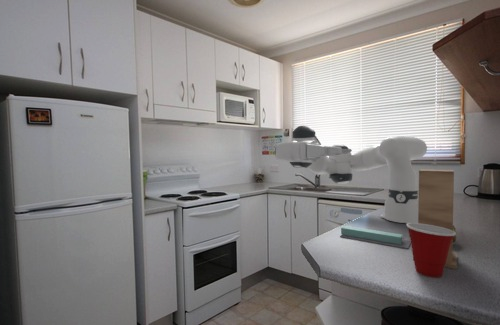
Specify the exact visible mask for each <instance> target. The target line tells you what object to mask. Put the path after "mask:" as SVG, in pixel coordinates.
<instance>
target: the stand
mask: <svg viewBox="0 0 500 325" xmlns="http://www.w3.org/2000/svg"><path fill="white" fill-rule="evenodd" d="M454 182H455V170H454V169H432V168H431V169H429V168H428V169H427V168H421V169H419V170H418V202H419V203H418V223H420V224H428V225H434V226H439V227H443V228H446V229H450V230H452V231H453V225H454V195H455V194H454V187H455V185H454V184H455V183H454ZM453 245H454V244H453V239H452V241H451V244H450V247H449V251H448V256H447V260H446V263H445V266H444V268H449V269H455V270H457V268H458V260H457V259H458V258H457V254H458V253H455V252H453V250H454V248H453ZM412 258H413V257H412ZM412 260H413V262H414V258H413V259H412Z"/></svg>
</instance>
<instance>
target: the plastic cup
mask: <svg viewBox="0 0 500 325" xmlns="http://www.w3.org/2000/svg"><path fill="white" fill-rule="evenodd" d="M405 224H406V228H407V229H408V234H409V239H410V240H409V241H411V244H410V246H411V251H412V258H414V261H413V262H414V268H415V271H416V272H417V273H418V274H419V275H423V276H426V277H430V278H440V277H442V276H443V274H444V270H445V267H444V266H445V263H446V260H447V256H448V251H449V247H450V244H451V241H452V239H453V237H454V235H456V236H457V231H456V232H455V231H452V230H450V229H446V228H443V227H439V226H434V225H428V224H420V223H405Z"/></svg>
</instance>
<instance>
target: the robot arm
mask: <svg viewBox="0 0 500 325" xmlns="http://www.w3.org/2000/svg"><path fill="white" fill-rule="evenodd" d="M274 148H275V150H274V156H275V159H276V160H277V161H279V162H280V161H281V162H288V163H289V164H290V165H291V166H292V167H293V168H306V169H308V170H309V171H310V172H312V173H314V174H316V175H327V174H328V179H331V181H332V182H333V183H335V184H339V185H346V184H348V183H349V182H351V181H352V180H353V173H352V172H353V171H355V172H362V171H369V170H374V169H377V168H381V167H385V166H387V168H388V174H389V189H388V192H387V193H388V194H387V196H388V198H387V199H386V200H385V201H384V209H383V211H384V213H383V214H380V218H382V219H384V220H387V221H391V222H395V223H401V224H407V223H418V203H419V190H418V189H417V188H418V186H417V185H418V184H417V183H418V174H417V172H416V171H415V169H414V168H413V166H412V161H414V160H418V159H420V158H421V159H422V158H423V157H424V156H425V155H426V153H427V151H428V150H427V149H428V146H427V144H426V142H425V141H424V140H422V139H420V138H418V137H415V136H400V135H398V136H397V135H396V136H395V135H394V136H389V137H386V138H384V139H383V140H382V141H380V144H376V145H373V146H370V147H367V148H365V149H362V150H359V151H357V152H354V153H353V152H352V149H351V148H349V147H348V146H346V145H344V144H341V143H340V144H333V145H322V143H321V142H320V140H319V138H318V137H317V136H316V131H315V130H314V129H313V128H312V127H311V126H308V125H298V126H297V127H295V129H294V130H293V131H292V140H290V141H289V140H287V141H282V142H278V143H277V144H276V145H275V147H274ZM352 170H353V171H352Z"/></svg>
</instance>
